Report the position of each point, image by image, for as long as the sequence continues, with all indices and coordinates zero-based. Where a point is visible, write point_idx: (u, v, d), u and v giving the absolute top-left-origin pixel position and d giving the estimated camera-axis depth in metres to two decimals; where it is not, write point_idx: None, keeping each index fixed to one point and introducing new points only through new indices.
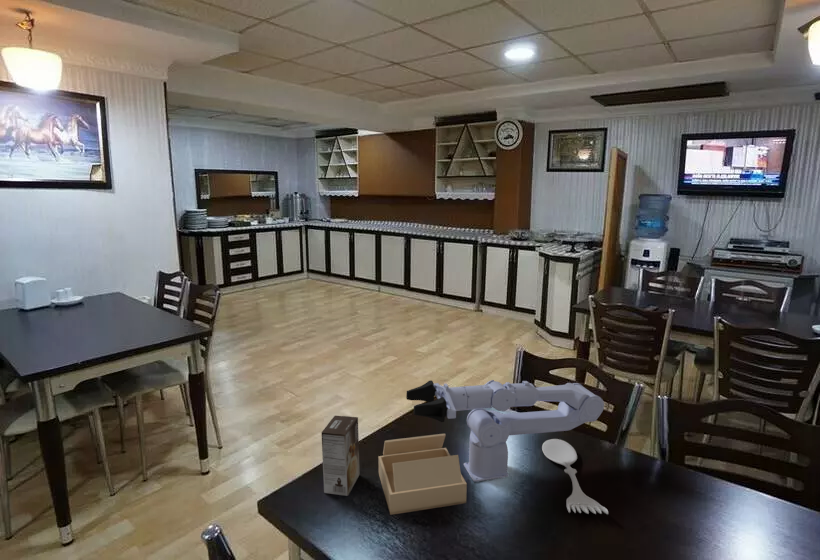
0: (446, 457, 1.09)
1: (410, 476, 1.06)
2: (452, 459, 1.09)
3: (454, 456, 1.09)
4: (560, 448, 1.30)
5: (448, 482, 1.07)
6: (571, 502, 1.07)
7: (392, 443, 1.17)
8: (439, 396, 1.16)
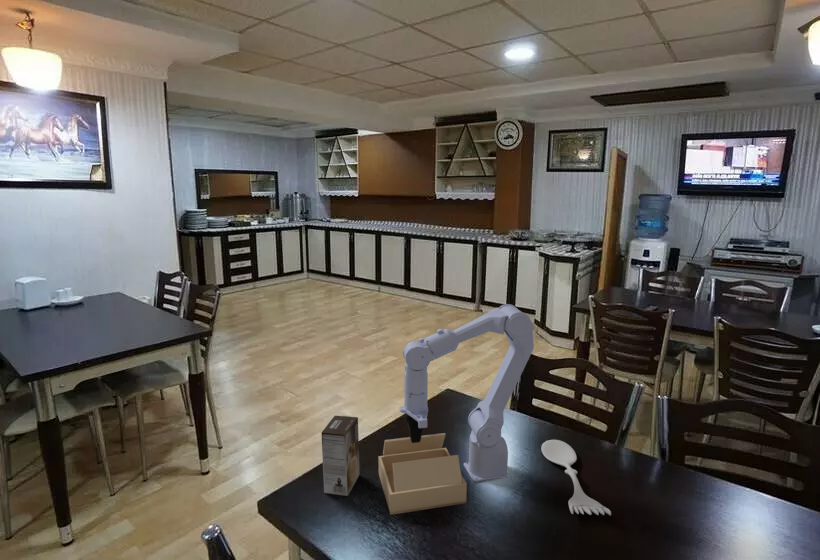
0: (446, 457, 1.09)
1: (410, 476, 1.06)
2: (452, 459, 1.09)
3: (454, 456, 1.09)
4: (559, 448, 1.30)
5: (448, 482, 1.07)
6: (573, 503, 1.06)
7: (392, 443, 1.17)
8: None
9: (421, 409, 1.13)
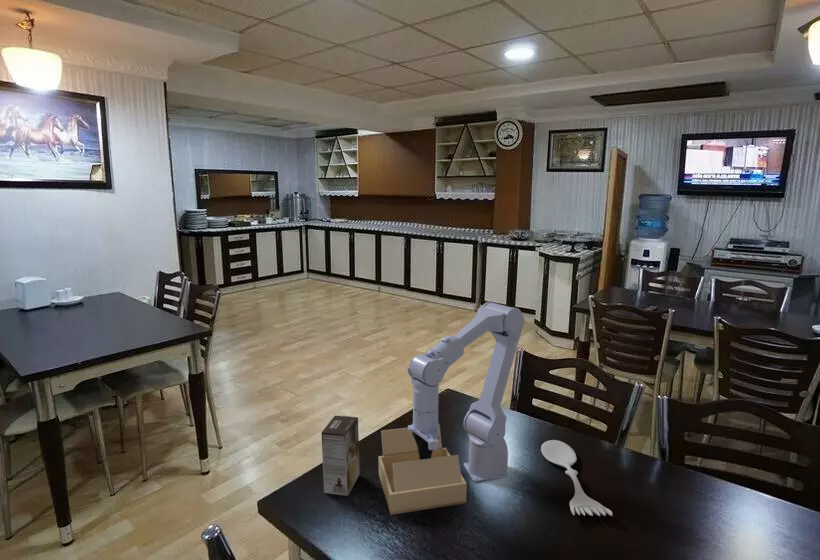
0: (446, 457, 1.09)
1: (410, 476, 1.06)
2: (452, 459, 1.09)
3: (454, 456, 1.09)
4: (559, 449, 1.30)
5: (448, 482, 1.07)
6: (574, 504, 1.06)
7: (389, 434, 1.21)
8: None
9: (431, 428, 1.04)
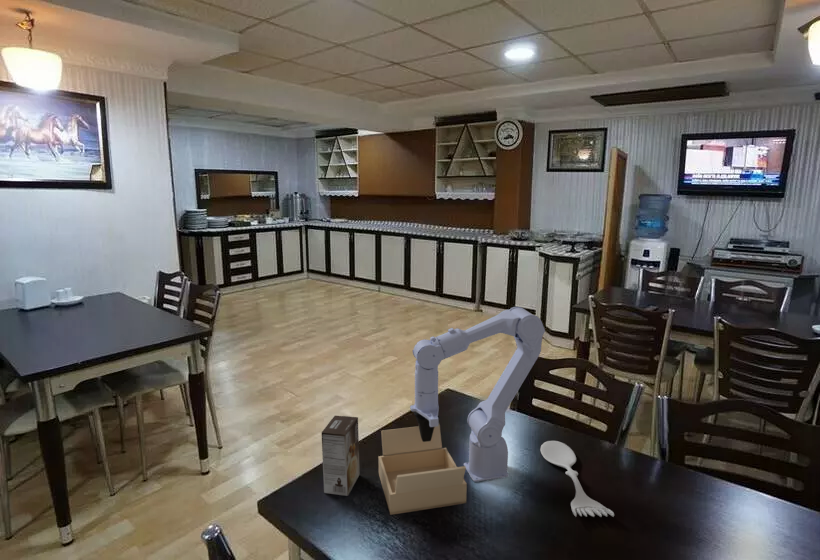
0: (453, 470, 1.04)
1: (413, 484, 1.04)
2: (458, 470, 1.05)
3: (461, 469, 1.04)
4: (558, 450, 1.29)
5: (448, 485, 1.07)
6: (576, 505, 1.06)
7: (389, 434, 1.21)
8: None
9: (432, 407, 1.13)
